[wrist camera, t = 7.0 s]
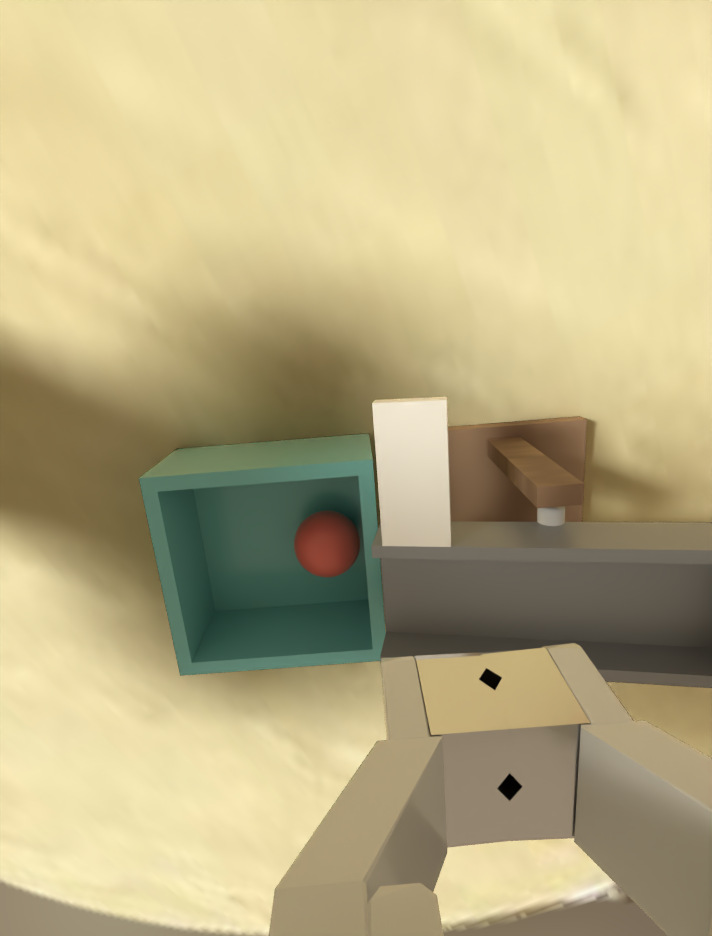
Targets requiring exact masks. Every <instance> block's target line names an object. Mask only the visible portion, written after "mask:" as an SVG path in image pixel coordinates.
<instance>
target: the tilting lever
mask: <svg viewBox="0 0 712 936" xmlns="http://www.w3.org/2000/svg"><path fill="white" fill-rule="evenodd" d="M372 408H373V422H374V436H375V450H376V464H377V478H378V492H379V506H380V519H381V522H380V525H379V528H378V530H377V533H376V535H375V538H374V540H373V543H372V546H371V548H372V558H381V570H382V583H383V597H384V611H385V624H386V634H385V638H384V642H383V647H382V651H381V655H380V662H381V658H393V657H407V656H413V658H414V656H422V655H440V654H458V653H476V652H479V653H484V652H496V651H508V650H521V649H533V648H542V646H551V645H561V644H570V643H576V644H577V645H579V646H581V647H582V649H583V650H584V652H585V653H586V654H587V656H588V657H589V659H590V660H591V662H592V663H593V664H594V666H595V667H596V669H597V670H598V671H599V673H600V674H601V676H602V677H603V678H604V680H605V681H607V682H623V683H638V684H654V685H670V686H686V687H702V688H712V522H565V506H561V507H548V508H537V522H451V506H450V473H449V440H448V408H447V397H427V398H406V399H385V400H375V401H374V402H373V403H372Z"/></svg>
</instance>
